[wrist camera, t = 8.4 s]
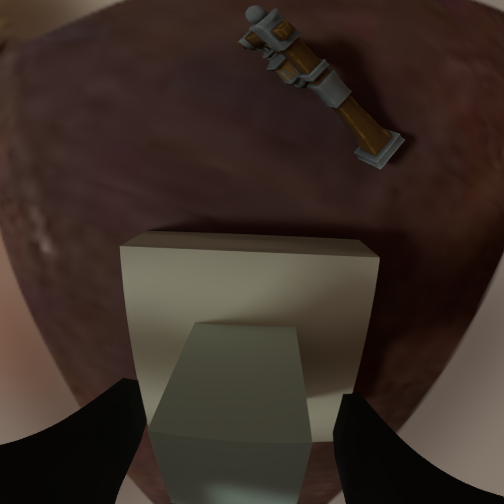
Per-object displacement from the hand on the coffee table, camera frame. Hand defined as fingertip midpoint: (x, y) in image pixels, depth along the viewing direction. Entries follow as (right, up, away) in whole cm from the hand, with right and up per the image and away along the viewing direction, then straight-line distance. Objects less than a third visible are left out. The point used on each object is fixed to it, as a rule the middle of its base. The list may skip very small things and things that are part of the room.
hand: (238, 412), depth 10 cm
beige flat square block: (0, +2, +6) cm, 6 cm away
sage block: (0, +1, +3) cm, 3 cm away
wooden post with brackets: (+3, +12, +3) cm, 13 cm away
